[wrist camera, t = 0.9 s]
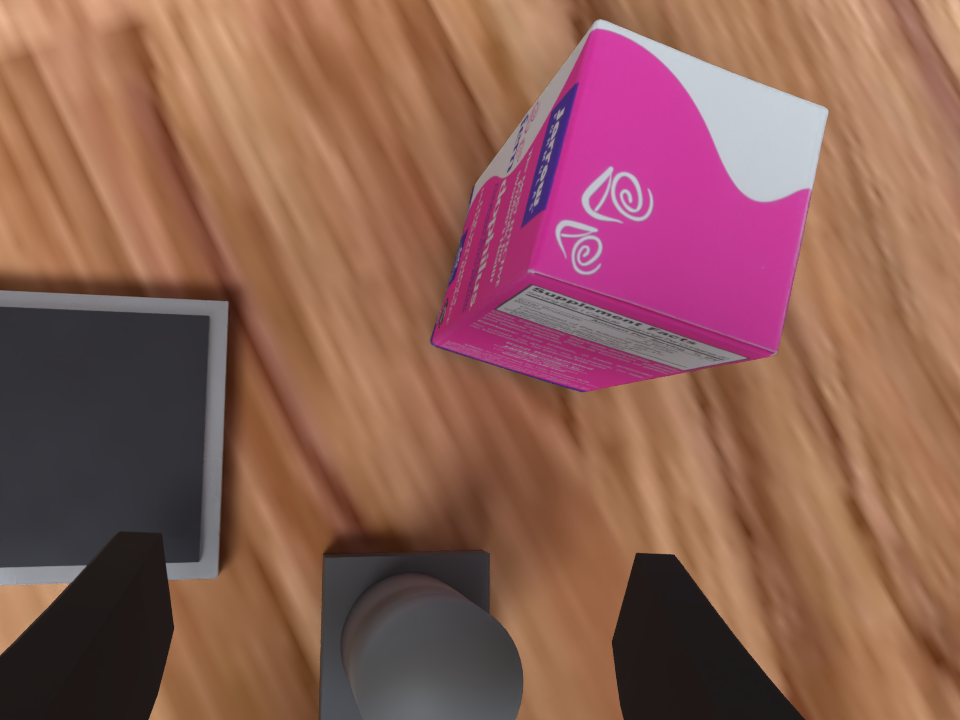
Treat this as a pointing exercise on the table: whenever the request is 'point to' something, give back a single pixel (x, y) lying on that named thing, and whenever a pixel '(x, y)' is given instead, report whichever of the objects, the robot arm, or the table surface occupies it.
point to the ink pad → (109, 430)
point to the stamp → (414, 639)
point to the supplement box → (635, 221)
